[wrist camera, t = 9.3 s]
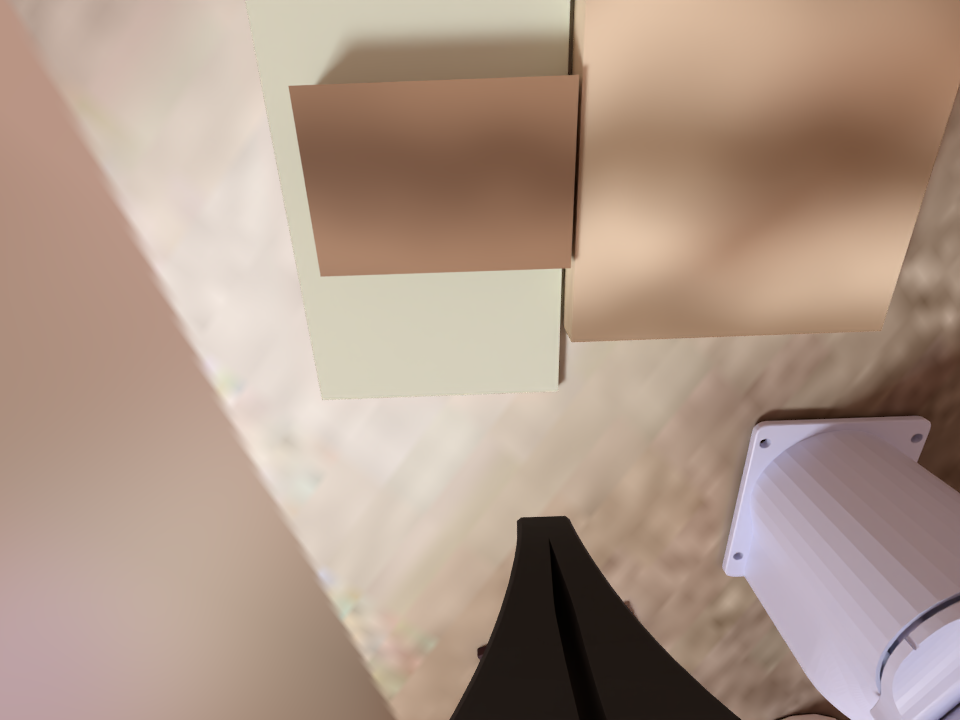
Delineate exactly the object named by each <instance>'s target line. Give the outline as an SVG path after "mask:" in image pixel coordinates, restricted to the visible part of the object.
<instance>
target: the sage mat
mask: <svg viewBox="0 0 960 720" xmlns="http://www.w3.org/2000/svg"><path fill="white" fill-rule="evenodd" d="M245 3H246V9H247V14H248V19H249V24H250V29H251V34H252V40H253V45H254V50H255V55H256V60H257V65H258V71H259V76H260V81H261V86H262V91H263V97H264V102H265V107H266V112H267V117H268V122H269V128H270V133H271V138H272V143H273V148H274V153H275V159H276V164H277V169H278V174H279V179H280V184H281V190H282V195H283V200H284V205H285V210H286V216H287V221H288V226H289V231H290V236H291V241H292V247H293V252H294V257H295V262H296V267H297V272H298V278H299V283H300V288H301V293H302V298H303V303H304V309H305V314H306V319H307V324H308V329H309V335H310V340H311V345H312V350H313V355H314V360H315V366H316V371H317V376H318V381H319V386H320V391H321V397H322V400H335V399H363V398H391V397H420V396H448V395H477V394H505V393H533V392H558V376H559V344H560V311H561V279H562V269H533V270H504V271H474V272H444V273H414V274H385V275H355V276H325V277H321V276H320V270H319V264H318V258H317V252H316V246H315V240H314V234H313V229H312V223H311V217H310V211H309V205H308V199H307V193H306V187H305V181H304V175H303V169H302V164H301V158H300V152H299V146H298V140H297V134H296V128H295V122H294V116H293V110H292V105H291V99H290V93H289V87H288V86H296V85H322V84H349V83H375V82H402V81H428V80H455V79H481V78H508V77H534V76H561V75H568V54H569V22H570V0H245Z"/></svg>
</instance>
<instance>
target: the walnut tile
mask: <svg viewBox="0 0 960 720" xmlns="http://www.w3.org/2000/svg"><path fill="white" fill-rule="evenodd" d="M288 87H289V93H290V99H291V105H292V110H293V116H294V122H295V128H296V134H297V140H298V146H299V152H300V158H301V164H302V169H303V175H304V181H305V187H306V193H307V199H308V205H309V211H310V217H311V223H312V229H313V234H314V240H315V246H316V252H317V258H318V264H319V270H320V276H321V277H325V276H355V275H385V274H414V273H444V272H474V271H504V270H533V269H563V268H571V252H572V229H573V206H574V183H575V160H576V137H577V114H578V91H579V75H561V76H534V77H508V78H481V79H455V80H428V81H402V82H375V83H349V84H322V85H296V86H288Z"/></svg>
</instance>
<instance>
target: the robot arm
mask: <svg viewBox="0 0 960 720" xmlns="http://www.w3.org/2000/svg"><path fill="white" fill-rule="evenodd" d="M930 428H931V423H930V421H928V420H927V419H925V418H923V417H922V416H898V417H869V418H840V419H811V420H782V421H763V422H760V423H758V424H757V425H756V426H755V427H754V428H753V431H752V435H751V440H750V444H749V449H748V453H747V458H746V462H745V467H744V471H743V476H742V480H741V484H740V489H739V493H738V498H737V502H736V507H735V511H734V516H733V520H732V525H731V529H730V534H729V538H728V543H727V547H726V552H725V556H724V561H723V565H722V566H723V570H724V571H725V573H726V574H727V575H728V576H745V578H746V580H747V581H748V583H749V584H750V586H751V588H752V589H753V591H754V592H755V594H756V596H757V597H758V599H759V600H760V602H761V603H762V605H763V607H764V608H765V610H766V611H767V613H768V615H769V616H770V618H771V619H772V621H773V623H774V624H775V626H776V627H777V629H778V631H779V632H780V634H781V635H782V637H783V639H784V640H785V642H786V643H787V645H788V647H789V648H790V650H791V651H792V653H793V655H794V656H795V658H796V659H797V661H798V663H799V664H800V666H801V667H802V669H803V671H804V672H805V674H806V675H807V677H808V678H809V679H810V681H811V682H812V683H813V685H814V686H815V687H816V688H817V690H818V691H819V692H820V693H821V694H822V695H823V696H824V697H825V698H826V699H827V700H828V701H829V702H830V703H831V704H832V705H833V706H834V707H836V708H837V709H838V710H839V711H841V712H842V713H843V714H844V715H846V716H847V717H848V718H850V719H851V720H960V493H959V492H957V491H956V490H955V489H953V488H952V487H950V486H949V485H948V484H946V483H945V482H943V481H942V480H940V479H939V478H938V477H936V476H935V475H933V474H932V473H931V472H929V471H928V470H926V469H925V468H924V467H922V466H921V465H919V464H918V463H917V461H918V459H919V456H920V454H921V451H922V449H923V446H924V444H925V441H926V439H927V436H928V434H929V431H930ZM912 436H913V437H912ZM763 439H766V440H765V441H764V442H763V443H760V442H761V441H762V440H763ZM759 443H760V444H759ZM450 720H741V719H740V718H739V717H737V716H736V715H735V714H734V713H733V712H731V711H730V710H729V709H728V708H727V707H726V706H724V705H723V704H722V703H721V702H720V701H719V700H718V699H716V698H715V697H714V696H713V695H712V694H711V693H709V692H708V691H707V690H706V689H705V688H704V687H703V686H702V685H701V684H700V683H699V682H698V681H697V680H696V679H694V678H693V677H692V676H691V675H690V674H689V673H688V672H687V671H686V670H685V669H684V668H683V667H682V666H681V665H680V664H679V663H678V662H676V661H675V660H674V659H673V658H672V657H671V656H670V655H669V653H668V652H667V651H666V650H665V649H664V648H663V647H662V646H661V645H660V644H659V643H658V642H657V641H656V640H655V639H654V638H653V636H652V635H651V634H650V633H649V632H648V631H647V630H646V629H645V628H644V626H643V625H642V624H641V623H640V622H639V621H638V620H637V618H636V617H635V616H634V615H633V614H632V612H631V611H630V610H629V609H628V607H627V606H626V605H625V604H624V602H623V601H622V600H621V598H620V597H619V596H618V595H617V593H616V592H615V591H614V589H613V588H612V587H611V585H610V584H609V583H608V581H607V580H606V578H605V577H604V575H603V574H602V572H601V571H600V570H599V568H598V567H597V565H596V564H595V562H594V561H593V559H592V558H591V556H590V555H589V553H588V551H587V550H586V548H585V547H584V545H583V543H582V542H581V540H580V538H579V537H578V535H577V533H576V531H575V529H574V527H573V526H572V524H571V522H570V519H568V518H567V517H566V516H554V517H523V518H520V519H519V520H518V521H517V546H516V552H515V558H514V562H513V567H512V571H511V576H510V580H509V584H508V587H507V590H506V594H505V597H504V600H503V603H502V607H501V610H500V613H499V616H498V618H497V621H496V624H495V627H494V629H493V632H492V634H491V637H490V639H489V642H488V644H487V646H486V649H485V651H484V653H483V656H482V658H481V660H480V662H479V665H478V667H477V669H476V671H475V673H474V675H473V677H472V679H471V681H470V683H469V685H468V687H467V689H466V691H465V692H464V694H463V696H462V698H461V700H460V702H459V704H458V706H457V707H456V709H455V711H454V713H453V715H452V716H451V718H450Z"/></svg>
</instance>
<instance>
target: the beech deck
mask: <svg viewBox="0 0 960 720" xmlns="http://www.w3.org/2000/svg"><path fill="white" fill-rule="evenodd" d="M572 75H579V91H578V114H577V137H576V160H575V183H574V206H573V229H572V252H571V268H565V286H564V315H563V326H564V328H565V330H566V332H567V334H568V336H569V338H570V340H571V342H590V341H617V340H645V339H672V338H699V337H727V336H754V335H782V334H809V333H837V332H864V331H881V330H882V326H883V323H884V320H885V317H886V314H887V311H888V308H889V304H890V301H891V298H892V295H893V292H894V289H895V286H896V282H897V279H898V276H899V273H900V270H901V267H902V264H903V260H904V257H905V254H906V251H907V248H908V245H909V242H910V238H911V235H912V232H913V229H914V226H915V223H916V220H917V216H918V213H919V210H920V207H921V204H922V201H923V198H924V194H925V191H926V188H927V185H928V182H929V179H930V176H931V172H932V169H933V166H934V163H935V160H936V157H937V154H938V150H939V147H940V144H941V141H942V138H943V135H944V132H945V128H946V125H947V122H948V119H949V116H950V113H951V110H952V106H953V103H954V100H955V97H956V94H957V91H958V88H959V84H960V0H574V20H573V50H572Z"/></svg>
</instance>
